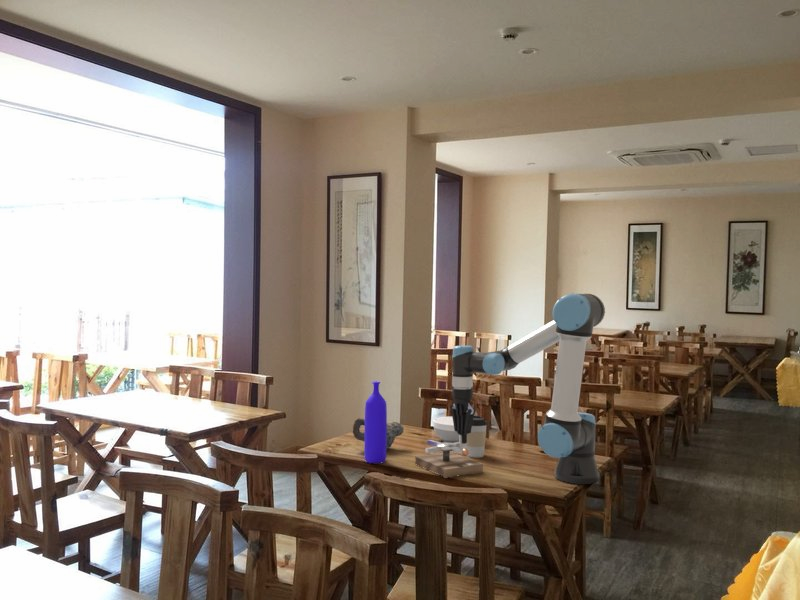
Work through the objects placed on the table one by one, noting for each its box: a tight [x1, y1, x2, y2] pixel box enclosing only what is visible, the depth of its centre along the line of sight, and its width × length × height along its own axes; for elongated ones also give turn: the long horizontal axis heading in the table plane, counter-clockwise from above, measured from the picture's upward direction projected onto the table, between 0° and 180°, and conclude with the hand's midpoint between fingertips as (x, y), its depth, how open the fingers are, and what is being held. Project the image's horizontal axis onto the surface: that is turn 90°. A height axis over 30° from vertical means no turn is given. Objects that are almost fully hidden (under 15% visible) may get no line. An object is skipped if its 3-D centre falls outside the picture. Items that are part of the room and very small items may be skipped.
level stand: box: [414, 451, 484, 479], centre depth 247 cm, size 20×16×7 cm
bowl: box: [432, 415, 458, 443], centre depth 291 cm, size 19×19×9 cm
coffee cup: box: [466, 415, 488, 458], centre depth 267 cm, size 9×9×15 cm
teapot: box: [352, 417, 405, 450], centre depth 275 cm, size 21×12×15 cm, turn 108°
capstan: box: [424, 439, 469, 457], centre depth 246 cm, size 21×19×2 cm
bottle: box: [363, 380, 388, 464], centre depth 256 cm, size 8×8×30 cm
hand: (462, 451), depth 250 cm, fingers closed
